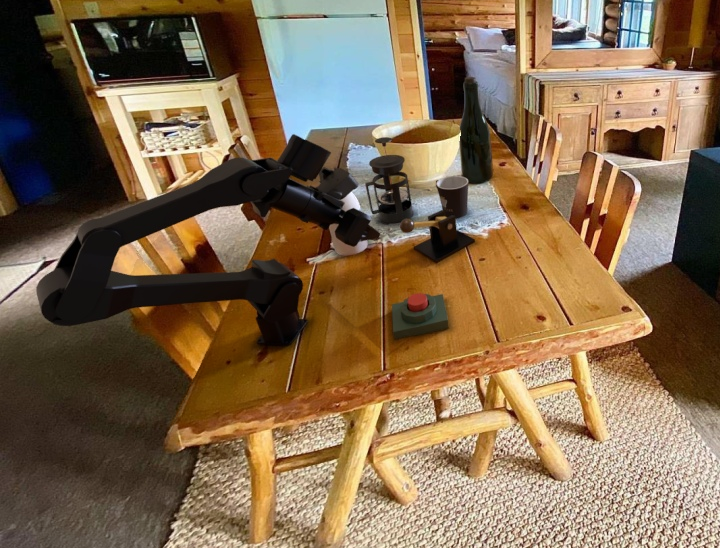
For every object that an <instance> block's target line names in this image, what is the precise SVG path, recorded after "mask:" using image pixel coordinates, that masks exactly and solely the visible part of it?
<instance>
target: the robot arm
mask: <svg viewBox="0 0 720 548" xmlns="http://www.w3.org/2000/svg"><path fill="white" fill-rule="evenodd" d="M331 154H332V152H331V151H329V150H328V149H326V148H324V147H322V146H320V145H318V144H316V143H314V142H312V141H310V140H308V139H304V138H303V137H301V136H299V135H297V134H295V133H292V134H291V136H289V139H288V141H287V144H286V146H285V148H284V150H283V151H282V152H281V154H280V155H279V157H278V159H275V158H273V157H265V158H257V159H249V158H245V157H242V156H241V157H238V156H237V157H233V158H230V159H228V160H226V161H225V162H222V163H221V164H219V165H217V166H215V167H214V168H212V169H210V170H209V171H207V172H206V173H205V174H204V175H202V176H201V177H200V178H199V179H197V180H195V181H194V182H192V183H190V184H187V185H185V186H181V187H179V188H176V189H174V190H170V191H168V192H166V193H163V194H160V195H157V196H155V197H152V198H150V199H147V200H144V201H142V202H139V203H136V204H133V205H131V206H129V207H126V208H123V209H119V210H118V211H115V212H113V213H110V214H107V215H105V216H101V217H97V218H92V219H88V220H87V221H85V222H83V223H82V224H81V225H80V226H79V227H78V229H77V232H76V235H75V237H74V238H73V240H72V241H71V242H70V243H69V245H68V246H67V248H66V249H64V252H63V253H62V254H61V256H60V257H59V259H58V261H57V264H56V266H55V267H54V269H53V270H52V271H50V272H48V273H46V274H45V275H44V276H42V278H41V279H39V281H38V282H37V285H36V287H35V290H36V297H37V301H38V305H39V309H40V312H41V315H42V316H43V318H44V319H45V320H46V321H48V322H50V323H51V324H53V325H55V326H60V327H72V326H79V325H83V324H88V323H93V322H97V321H102V320H103V321H104V320H107V319H109V318H112V317H114V316H116V315H119V314H121V313H123V312H125V311H128V310H131V309H138V308H150V307H163V306H164V307H165V306H177V305H188V304H189V305H190V304H202V303H212V302H214V303H215V302H227V301H228V302H229V301H239V300H243V301H247V302H248V303H249V304H250V305H251V307H253V308H254V310H255V311H256V317H255V321H256V324H257V326H258V329H259V331H260V334H261V335H260V337H259V338H258V339H256V344H257V345H262V346H263V345H266V346H283V347H284V346H286V347H288V346H291V345H292V344H293V343H294V341H296V339H297V337H298V336H299V335H300V334H301V332H302V331H303V329H305V327H306V326H307V324H308V323H309V321H308V319H306V318H301V315H300V312H299V311H298V307H299V300H300V295H301V293H302V292H303V289H304V283H303V280H302V279H301V278H300V277H299V276H298V275H297V274H296V273H295V272H294V271H293V270H291V268H289V267H288V266H287V265H286V264H284V263H282V262H279V261H278V260H277V259H276V258H271V259H268V260H260V259H252V260H251V266H250V267H249V268H247V269H244V270H242V271H230V272H228V271H226V272H198V273H196V272H195V273H170V274H165V273H164V274H143V275H142V274H139V275H133V274H127V273H123V272H120V271H115V270H112V269H113V267H114V263H115V259H116V256H117V255H118V253H119V251H120V249H121V248H123V247H125V246H127V245H129V244H132V243H135V242H136V241H139V240H142V239H143V238H146V237H148V236H151V235H153V234H155V233H158V232H161V231H163V230H166V229H167V228H170V227H173V226H174V225H177V224H180V223H182V222H184V221H187V220H189V219H191V218H193V217H196V216H198V215H201V214H204V213H205V212H208V211H211V210H215V209H218V208H225V207H235V206H240V205H243V204H248V203H250V204H251V205H252V211H253V212H254V213H255V214H257V215H258V216H259V217H260V218H266V216H267V215H268V213H269V212H270V210H271V209H274V210H276V211H279V212H282V213H285V214H287V215H290V216H292V217H296V218H297V219H298V220H300V221H301V222H303V223H306V224H308V223H310V224H313V225H316V226H317V227H319V228H321V229H322V230H325V231H328V229H329V226H330V225H332V224H339V225H338V227H337V228H336V230H335V236H336V238H337V239H339V240H340V241H342V242H343V243H345V244H347V245H349V246H352V247H355V246H356V245H357V244H358V242H361V241H366V240H368V241H370V240H377V239H379V238H380V236H381V235H382V234H381V232H379V231H378V230H377V229H375V228H374V227H373V226H372V225H370V223H371V221H372V216H370V215H368V214H367V213H365V212H364V211H362V210H361V211H359V210H357V209H355V208H352V209H349V210H347V211H345V210H343V209H342V207H343V205H344V204H345V202H343V201H341V200H342V199H344V198H345V197H346V196H347V195H348V194H349V193H350V192H353V191H354V190H356V189H357V188H358V187H359V185H360V184H359V182H358V181H357V180H356V178H355V177H354V176H353V175H352V174H351V172H350V171H347V170H345V169H343V168H342V167H334V168H333V169H331V168H328V167H325V165H326V162H327V161H328V160H329V158H330V156H331ZM291 176H292V177H293V178H296V179H298V180H300V181H302V182H304V183H307V182H308V181H311V182H314V180H316V179H317V177H319V181H318V183H320V184H318V186H313V185H305V184H303V183H300V182H298V181H297V180H294V179H292V178H290V177H291Z"/></svg>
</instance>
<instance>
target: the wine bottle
mask: <svg viewBox="0 0 720 548" xmlns="http://www.w3.org/2000/svg"><path fill="white" fill-rule="evenodd" d="M463 91H464V93H463V94H464V108H463V114H462V117H461V121H460V123H459V128H460V130H461V136H460V141H459V140H458V145H459V146H458V147H459V159H460V161H459V162H460V172H461V176H462V177H465V178H467V179H468V183H470V184H481V183H486V182H488V181H490V180H491V179H492V178H493V177H494V164H493V161H494V160H493V150H492V139H491V131H490V127H489V124H488V122H487V119H486V117H485V116H484V113H483V110H482V107H481V101H480V96H479V83H478V81H477V78H476V77H475V76H467V77H464V82H463Z"/></svg>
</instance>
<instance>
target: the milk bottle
mask: <svg viewBox="0 0 720 548" xmlns="http://www.w3.org/2000/svg"><path fill="white" fill-rule="evenodd" d="M341 201H343V202H345V204H344V205H343V207H342V209H343V210H345V211H347V210H349V209H352V208H355V209H357V210H359V211H361V212H362V209H361V206H360V205H361V204H360V202H359V200H358V198H357V197H356V195H355V194H354V193H353V191H351V192H350V193H349V194H348V195H347V196H346V197H345V198H344V199H342V200H341ZM338 225H339V224H332V225H330V226H329V228H328V229H329V232H330V237H331V241H332V244H333V248H334V251H335V253H336V254H338V255H339V256H354V255H356V254H359V253H362V252H363V251H365V250H366V249H367V247H368V245H369V242H368V241H369V240H366V241H361V242H358V244H357V245H356V246H355V247H352V246H349V245H347V244H345V243H343V242H342V241H340V240H339V239H337V238H336V236H335V230H336V228H337V227H338Z"/></svg>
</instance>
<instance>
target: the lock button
mask: <svg viewBox="0 0 720 548" xmlns="http://www.w3.org/2000/svg"><path fill="white" fill-rule="evenodd" d="M425 294H426V293H422V292H417V293H416V292H415V293H412V294H411V295H409V296H408V297H409V298H408V297H407V298H408V300H407V302H408V307H409V310H410V311H412V312H420V311H423V310H425V309H426V308H427V306H428V302H427V296H426V295H425Z"/></svg>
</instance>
